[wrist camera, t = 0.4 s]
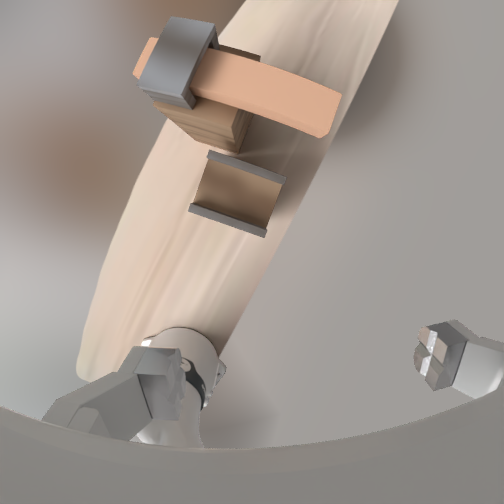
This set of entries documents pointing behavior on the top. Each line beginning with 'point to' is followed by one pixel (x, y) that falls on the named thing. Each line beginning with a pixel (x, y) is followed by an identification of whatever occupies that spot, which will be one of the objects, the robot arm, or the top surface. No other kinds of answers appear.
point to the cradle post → (237, 193)
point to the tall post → (180, 77)
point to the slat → (260, 90)
